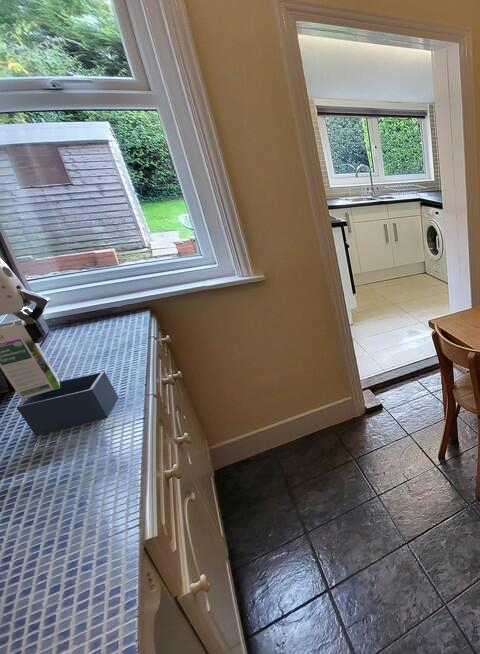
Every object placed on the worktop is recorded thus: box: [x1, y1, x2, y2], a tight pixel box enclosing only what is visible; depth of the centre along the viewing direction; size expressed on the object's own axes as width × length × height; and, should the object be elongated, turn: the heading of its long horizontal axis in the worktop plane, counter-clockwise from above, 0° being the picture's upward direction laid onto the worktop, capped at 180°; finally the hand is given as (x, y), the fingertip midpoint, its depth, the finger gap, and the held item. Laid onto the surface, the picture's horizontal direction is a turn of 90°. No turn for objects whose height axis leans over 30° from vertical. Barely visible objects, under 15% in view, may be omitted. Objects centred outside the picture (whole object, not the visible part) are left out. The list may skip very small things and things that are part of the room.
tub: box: [16, 370, 119, 437], centre depth 95 cm, size 12×10×8 cm
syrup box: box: [0, 318, 60, 401], centre depth 81 cm, size 6×6×14 cm
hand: (13, 345), depth 80 cm, fingers closed on syrup box, 6 cm apart
